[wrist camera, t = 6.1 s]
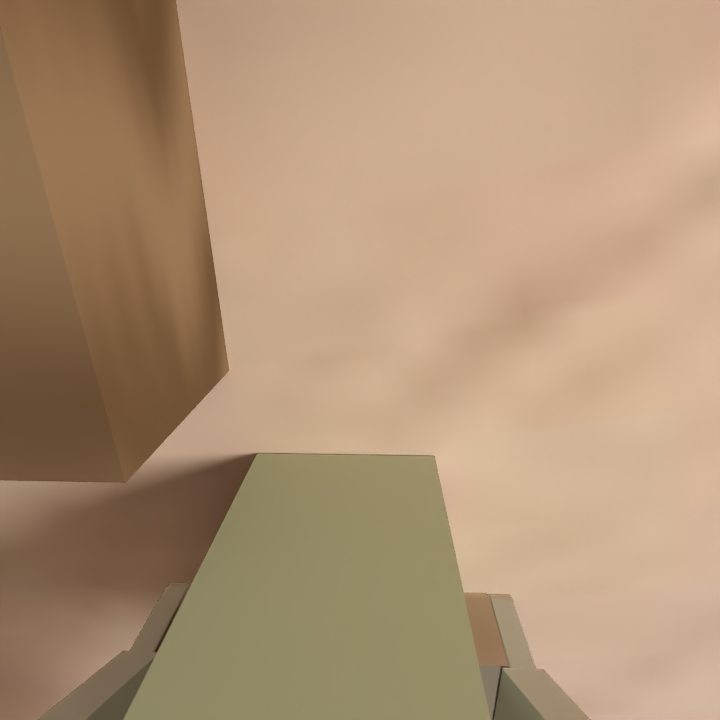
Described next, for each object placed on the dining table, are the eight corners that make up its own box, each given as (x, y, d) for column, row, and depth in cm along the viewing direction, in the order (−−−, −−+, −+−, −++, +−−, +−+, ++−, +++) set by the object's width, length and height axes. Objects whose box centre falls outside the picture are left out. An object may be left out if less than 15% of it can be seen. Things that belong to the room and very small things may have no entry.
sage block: (257, 453, 11) (90, 783, 5) (434, 456, 11) (510, 811, 5) (273, 582, 13) (167, 952, 7) (426, 587, 13) (472, 977, 6)
